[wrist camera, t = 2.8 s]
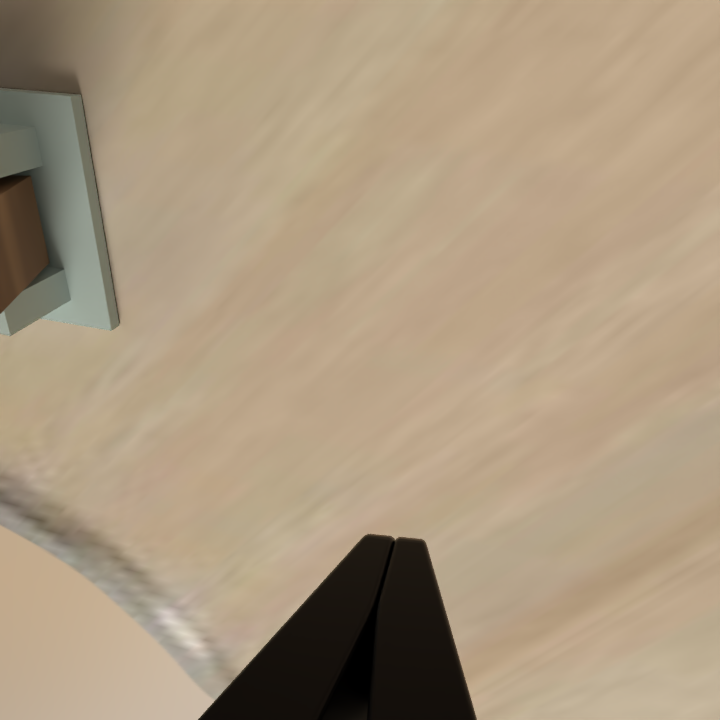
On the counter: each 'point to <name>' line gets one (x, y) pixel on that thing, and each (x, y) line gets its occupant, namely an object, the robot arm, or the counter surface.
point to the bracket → (58, 211)
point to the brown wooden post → (19, 238)
